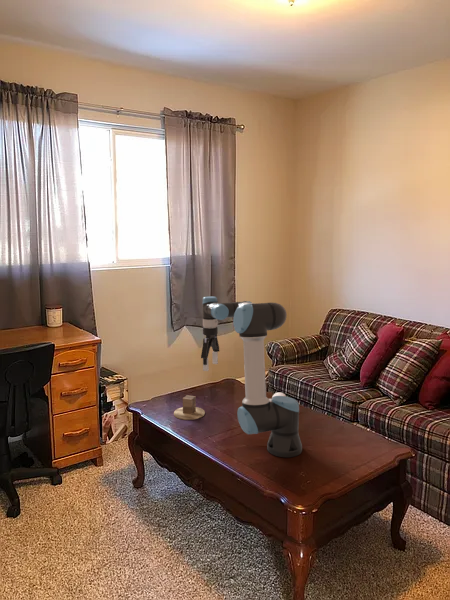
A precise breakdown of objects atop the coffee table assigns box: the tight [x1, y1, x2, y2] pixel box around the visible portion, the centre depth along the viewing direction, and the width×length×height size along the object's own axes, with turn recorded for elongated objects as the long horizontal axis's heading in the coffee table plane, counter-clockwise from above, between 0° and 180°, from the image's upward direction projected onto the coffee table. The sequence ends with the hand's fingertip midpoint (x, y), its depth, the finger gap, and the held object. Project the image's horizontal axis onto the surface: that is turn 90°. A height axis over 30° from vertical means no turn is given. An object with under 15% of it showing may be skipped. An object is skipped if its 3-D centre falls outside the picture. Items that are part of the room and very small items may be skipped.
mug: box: [268, 392, 287, 402], centre depth 259 cm, size 12×10×8 cm
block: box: [182, 394, 197, 415], centre depth 253 cm, size 5×5×8 cm
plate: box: [173, 406, 206, 421], centre depth 254 cm, size 16×16×1 cm
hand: (210, 367), depth 253 cm, fingers open, 13 cm apart
